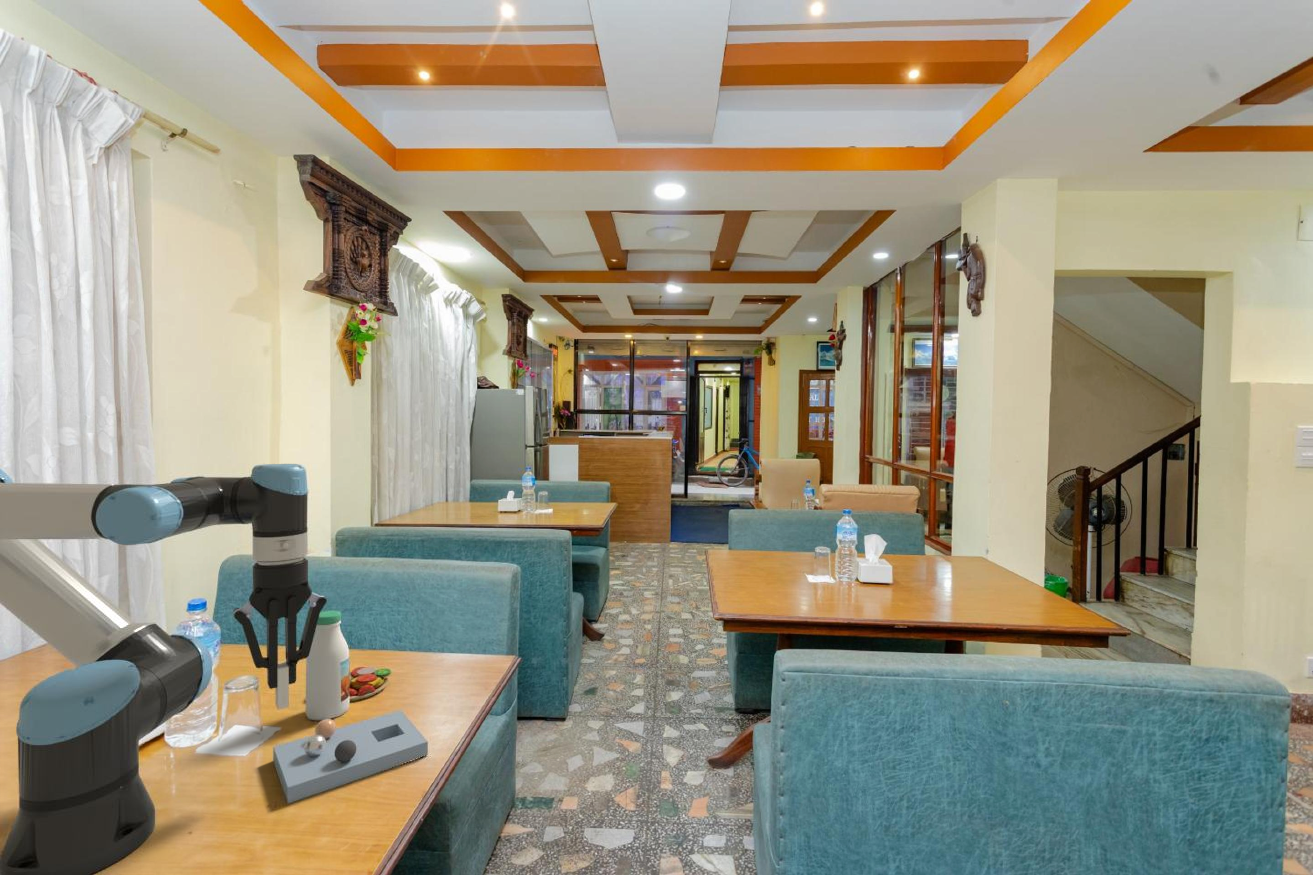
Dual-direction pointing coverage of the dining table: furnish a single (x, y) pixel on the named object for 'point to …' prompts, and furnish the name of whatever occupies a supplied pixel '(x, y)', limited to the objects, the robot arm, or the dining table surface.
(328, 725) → the terracotta ball
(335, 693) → the milk bottle
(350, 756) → the black ball
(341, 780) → the board
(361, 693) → the toy food set
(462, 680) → the dining table surface
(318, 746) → the steel ball
